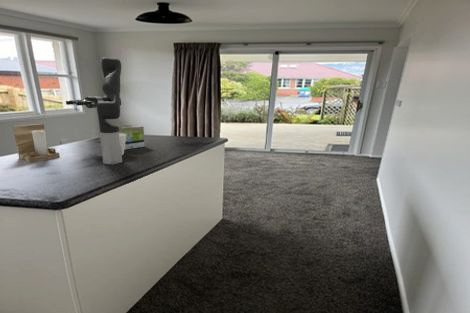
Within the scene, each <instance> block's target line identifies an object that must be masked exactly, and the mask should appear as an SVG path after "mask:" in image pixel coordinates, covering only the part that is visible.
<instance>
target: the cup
mask: <svg viewBox="0 0 470 313" xmlns="http://www.w3.org/2000/svg"><path fill="white" fill-rule="evenodd" d="M119 138H120V146H121V150H122V156H123V155H124V153H125V150H124V149H125V142H126V134H123V133H119Z"/></svg>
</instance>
